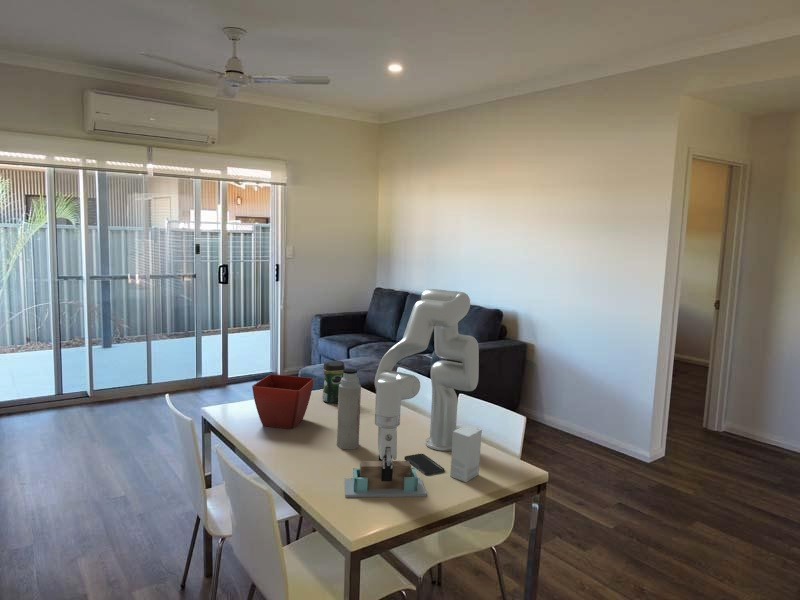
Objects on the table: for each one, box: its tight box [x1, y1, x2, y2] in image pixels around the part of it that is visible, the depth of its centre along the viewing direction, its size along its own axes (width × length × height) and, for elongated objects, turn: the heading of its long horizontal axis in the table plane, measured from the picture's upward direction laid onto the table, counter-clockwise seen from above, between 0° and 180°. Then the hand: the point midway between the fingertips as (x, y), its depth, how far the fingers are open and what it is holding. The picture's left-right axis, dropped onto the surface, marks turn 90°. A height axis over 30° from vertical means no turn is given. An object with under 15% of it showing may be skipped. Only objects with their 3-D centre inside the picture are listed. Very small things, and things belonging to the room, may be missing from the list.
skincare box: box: [449, 424, 483, 483], centre depth 180 cm, size 8×7×16 cm
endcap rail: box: [343, 467, 427, 498], centre depth 169 cm, size 24×11×5 cm, turn 97°
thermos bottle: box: [336, 368, 362, 450], centre depth 201 cm, size 8×8×28 cm
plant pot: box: [251, 373, 315, 430], centre depth 222 cm, size 19×19×17 cm
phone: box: [404, 453, 445, 476], centre depth 188 cm, size 8×1×15 cm
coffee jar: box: [322, 360, 346, 404], centre depth 254 cm, size 10×8×19 cm
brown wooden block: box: [359, 460, 412, 489], centre depth 169 cm, size 15×4×7 cm, turn 97°
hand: (385, 473), depth 169 cm, fingers open, 9 cm apart
